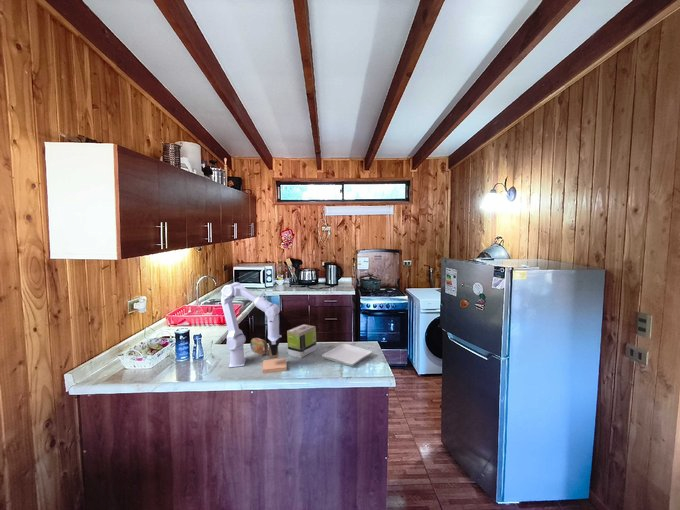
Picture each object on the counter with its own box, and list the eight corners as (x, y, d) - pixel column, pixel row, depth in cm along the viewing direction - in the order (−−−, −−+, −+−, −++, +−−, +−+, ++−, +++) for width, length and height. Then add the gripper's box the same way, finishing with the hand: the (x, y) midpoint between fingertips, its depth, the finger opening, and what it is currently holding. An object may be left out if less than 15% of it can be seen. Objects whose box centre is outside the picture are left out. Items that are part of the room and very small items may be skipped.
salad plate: (352, 370, 167) (352, 363, 167) (320, 360, 180) (320, 354, 179) (373, 356, 184) (373, 350, 184) (343, 348, 197) (343, 343, 196)
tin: (250, 350, 196) (249, 336, 195) (254, 349, 198) (254, 335, 197) (264, 356, 185) (264, 342, 185) (269, 355, 188) (268, 341, 187)
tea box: (304, 347, 200) (303, 323, 199) (317, 350, 194) (316, 326, 193) (287, 355, 187) (286, 330, 186) (300, 358, 182) (299, 333, 181)
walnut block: (269, 355, 172) (269, 344, 172) (278, 354, 173) (277, 343, 173) (269, 359, 168) (269, 347, 167) (278, 358, 169) (277, 346, 168)
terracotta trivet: (263, 364, 176) (263, 360, 176) (285, 362, 178) (285, 358, 178) (262, 374, 164) (262, 369, 164) (286, 371, 166) (286, 367, 166)
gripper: (281, 331, 163) (282, 357, 164) (280, 323, 177) (281, 347, 178) (267, 332, 162) (268, 359, 163) (267, 324, 176) (268, 348, 177)
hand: (274, 353), depth 170 cm, fingers closed on walnut block, 4 cm apart
